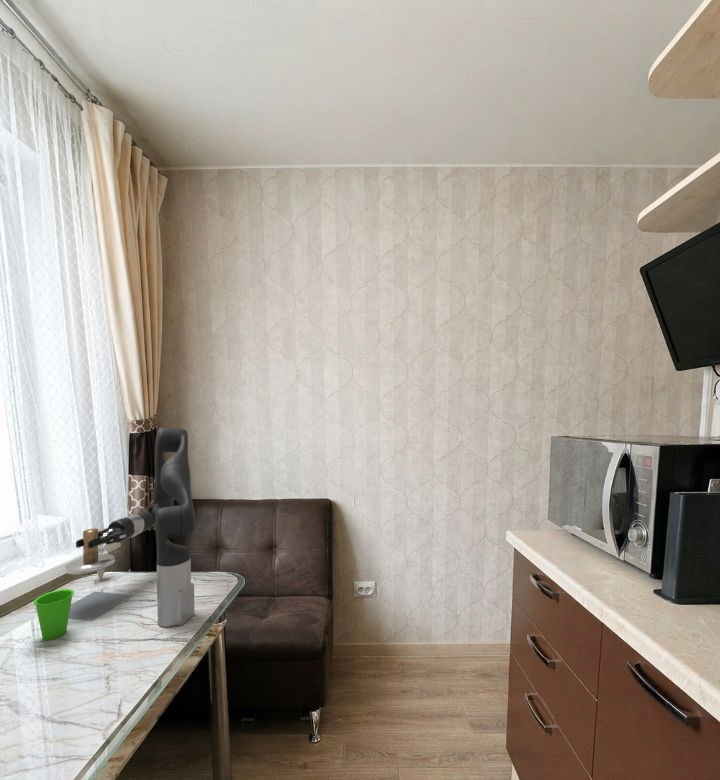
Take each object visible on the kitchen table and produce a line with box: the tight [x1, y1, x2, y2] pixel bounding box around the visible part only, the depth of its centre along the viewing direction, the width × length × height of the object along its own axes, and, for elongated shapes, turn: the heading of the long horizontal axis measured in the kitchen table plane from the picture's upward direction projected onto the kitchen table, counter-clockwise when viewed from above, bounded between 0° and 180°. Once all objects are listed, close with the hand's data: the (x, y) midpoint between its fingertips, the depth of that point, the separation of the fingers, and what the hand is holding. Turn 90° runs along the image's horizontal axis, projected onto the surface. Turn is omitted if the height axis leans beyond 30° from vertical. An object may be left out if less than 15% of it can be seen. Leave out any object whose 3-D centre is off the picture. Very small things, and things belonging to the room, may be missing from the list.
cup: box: [33, 588, 75, 641], centre depth 112 cm, size 9×9×11 cm
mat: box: [68, 590, 134, 622], centre depth 128 cm, size 16×16×1 cm
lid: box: [65, 527, 116, 575], centre depth 128 cm, size 13×13×11 cm
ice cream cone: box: [96, 544, 109, 581], centre depth 147 cm, size 5×5×15 cm
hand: (82, 544), depth 125 cm, fingers closed on lid, 4 cm apart
